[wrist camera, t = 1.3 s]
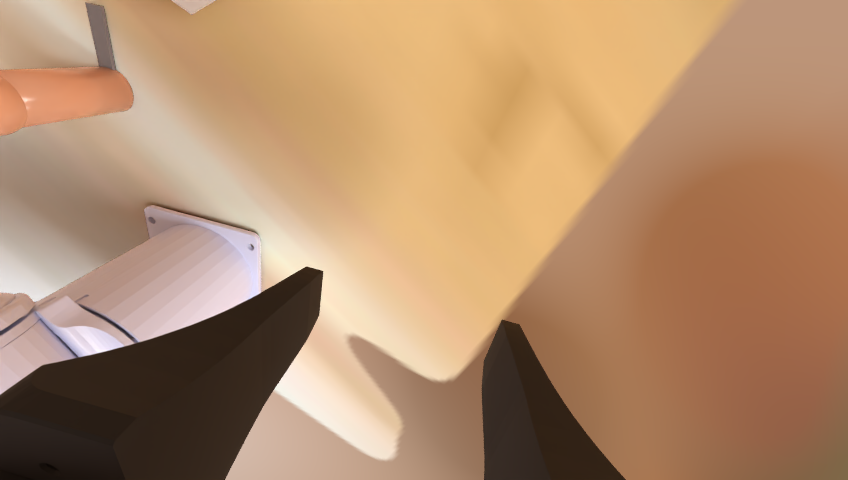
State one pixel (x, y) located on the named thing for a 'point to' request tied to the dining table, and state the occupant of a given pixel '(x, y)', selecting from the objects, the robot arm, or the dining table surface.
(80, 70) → the pair of orange pieces
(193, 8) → the die
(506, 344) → the robot arm
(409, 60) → the dining table surface
